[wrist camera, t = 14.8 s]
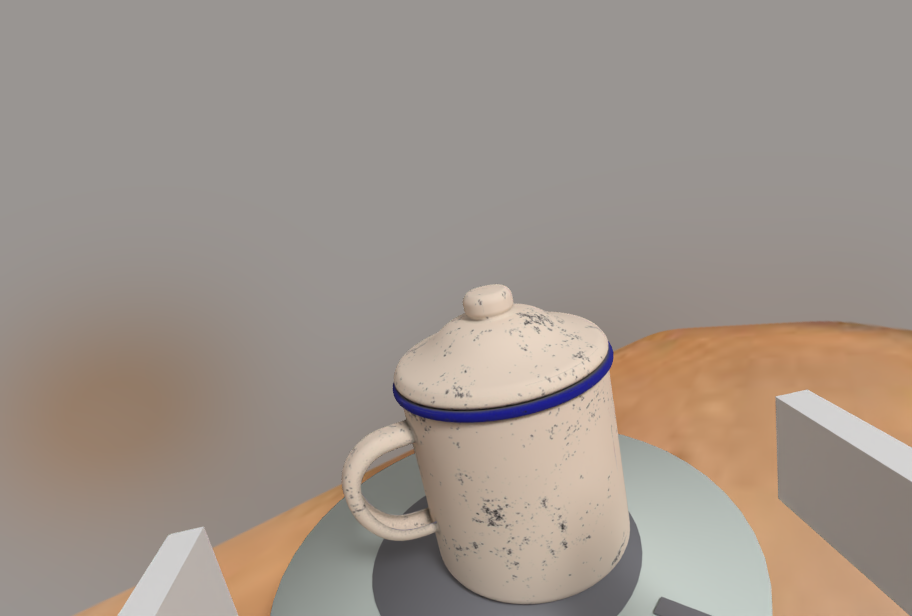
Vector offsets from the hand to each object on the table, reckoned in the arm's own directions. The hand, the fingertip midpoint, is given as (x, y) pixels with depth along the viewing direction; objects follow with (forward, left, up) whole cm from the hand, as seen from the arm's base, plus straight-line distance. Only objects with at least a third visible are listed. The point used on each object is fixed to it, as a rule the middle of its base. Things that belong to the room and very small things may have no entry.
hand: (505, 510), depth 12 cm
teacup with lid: (-7, +7, -9) cm, 14 cm away
